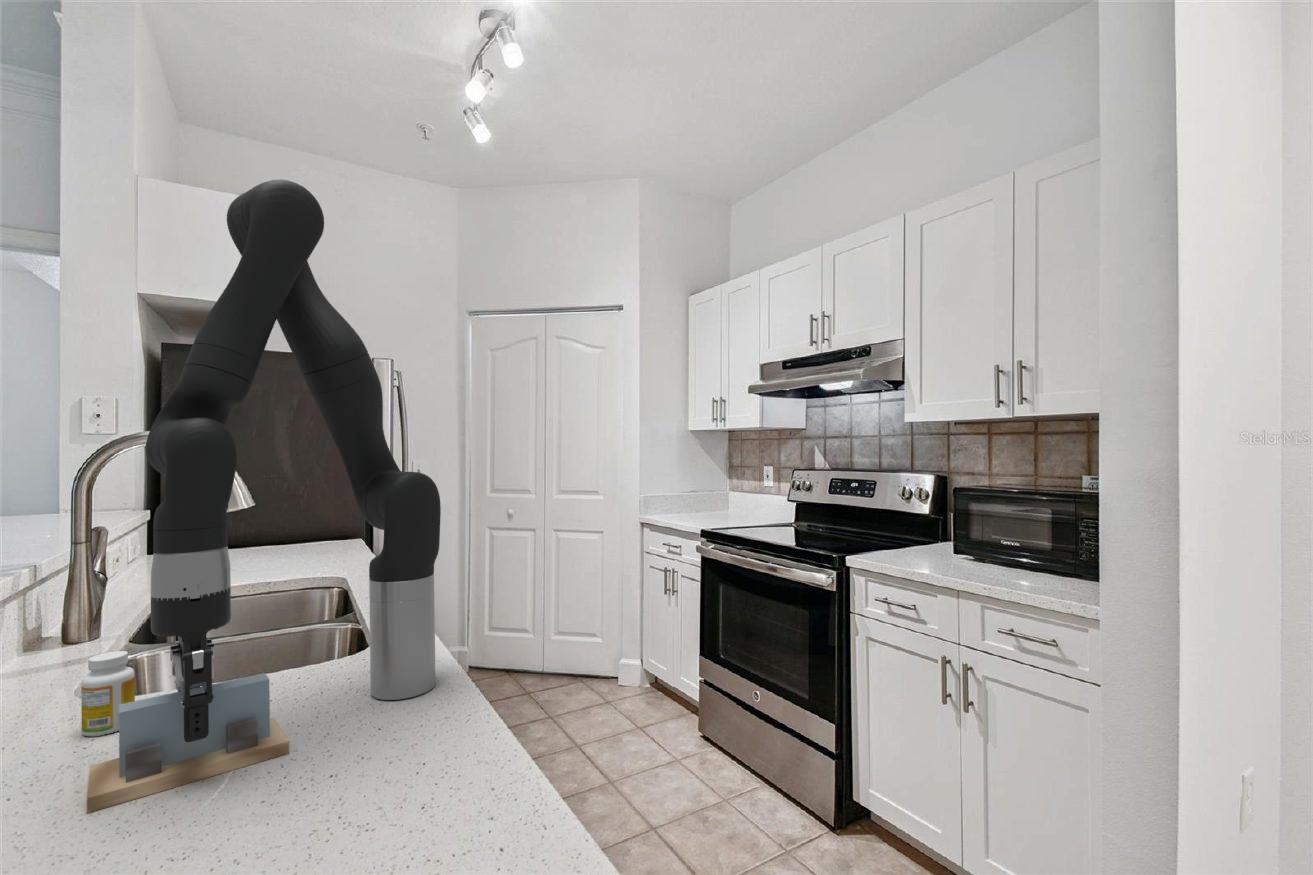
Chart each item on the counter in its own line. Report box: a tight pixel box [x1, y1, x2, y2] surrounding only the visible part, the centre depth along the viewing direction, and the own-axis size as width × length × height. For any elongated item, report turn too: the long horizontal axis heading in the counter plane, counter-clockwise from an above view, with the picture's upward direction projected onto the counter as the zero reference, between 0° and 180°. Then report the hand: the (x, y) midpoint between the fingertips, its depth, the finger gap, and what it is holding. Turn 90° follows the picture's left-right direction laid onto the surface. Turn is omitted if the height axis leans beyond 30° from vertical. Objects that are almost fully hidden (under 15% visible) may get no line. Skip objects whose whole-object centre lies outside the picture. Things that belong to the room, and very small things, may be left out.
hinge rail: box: [86, 717, 290, 814], centre depth 72 cm, size 18×9×4 cm, turn 131°
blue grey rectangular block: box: [118, 672, 271, 778], centre depth 73 cm, size 14×3×7 cm, turn 131°
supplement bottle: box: [80, 650, 136, 737], centre depth 83 cm, size 5×5×10 cm
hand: (192, 726), depth 72 cm, fingers open, 8 cm apart
